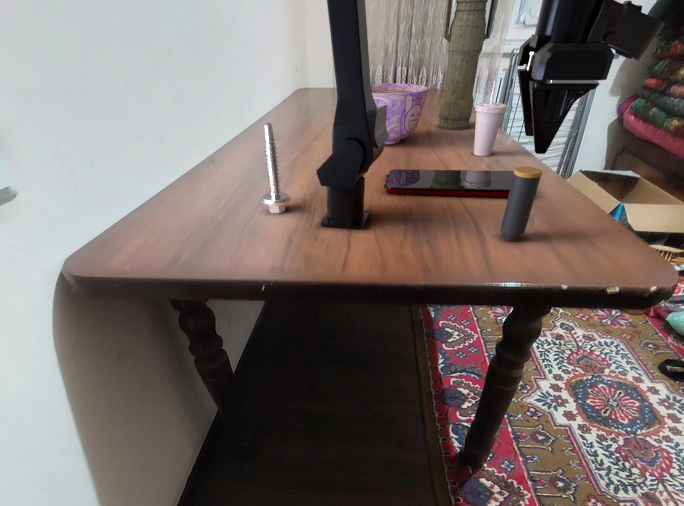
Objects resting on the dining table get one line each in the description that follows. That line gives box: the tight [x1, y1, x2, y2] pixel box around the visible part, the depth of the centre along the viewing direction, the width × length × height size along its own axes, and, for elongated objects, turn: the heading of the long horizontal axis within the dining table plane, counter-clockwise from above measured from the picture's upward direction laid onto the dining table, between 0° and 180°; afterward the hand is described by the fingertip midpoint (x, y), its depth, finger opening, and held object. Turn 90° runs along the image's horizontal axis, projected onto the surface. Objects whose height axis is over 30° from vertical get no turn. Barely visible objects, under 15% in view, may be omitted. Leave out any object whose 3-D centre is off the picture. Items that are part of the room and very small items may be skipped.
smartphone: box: [384, 168, 514, 197], centre depth 74 cm, size 12×2×25 cm
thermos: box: [437, 0, 498, 131], centre depth 106 cm, size 9×12×35 cm
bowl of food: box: [371, 82, 430, 145], centre depth 101 cm, size 20×20×12 cm
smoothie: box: [473, 79, 508, 157], centre depth 88 cm, size 6×6×14 cm
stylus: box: [499, 166, 544, 242], centre depth 54 cm, size 3×3×9 cm
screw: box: [260, 121, 292, 214], centre depth 63 cm, size 13×5×5 cm
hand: (534, 144), depth 49 cm, fingers open, 9 cm apart
